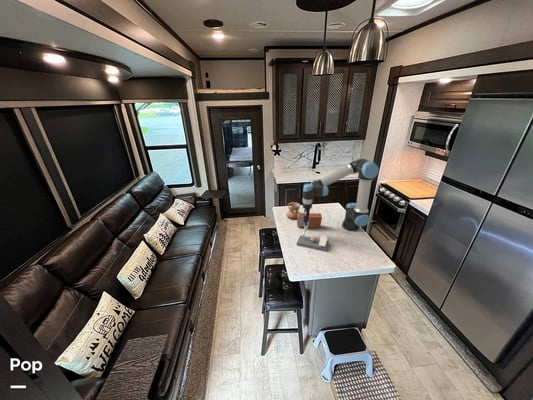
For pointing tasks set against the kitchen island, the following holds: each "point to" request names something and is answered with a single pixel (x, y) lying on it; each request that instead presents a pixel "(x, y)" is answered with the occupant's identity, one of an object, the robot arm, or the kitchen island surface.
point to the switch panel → (311, 243)
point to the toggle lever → (304, 232)
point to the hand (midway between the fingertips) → (305, 228)
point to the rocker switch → (323, 240)
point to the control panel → (313, 220)
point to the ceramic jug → (293, 210)
